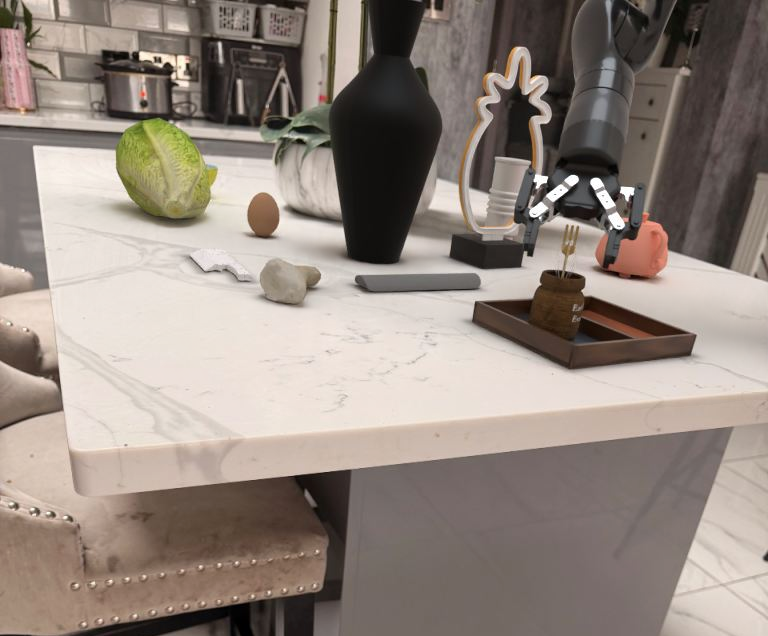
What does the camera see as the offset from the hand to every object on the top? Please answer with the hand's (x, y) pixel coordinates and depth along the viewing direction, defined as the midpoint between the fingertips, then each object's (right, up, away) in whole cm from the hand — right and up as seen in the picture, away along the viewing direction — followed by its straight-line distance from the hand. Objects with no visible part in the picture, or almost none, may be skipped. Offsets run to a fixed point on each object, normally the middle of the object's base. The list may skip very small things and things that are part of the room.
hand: (568, 258), depth 86 cm
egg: (-41, +18, +45) cm, 64 cm away
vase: (-23, +13, +38) cm, 46 cm away
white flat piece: (-44, +5, +21) cm, 49 cm away
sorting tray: (+3, -7, +8) cm, 11 cm away
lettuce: (-60, +25, +52) cm, 83 cm away
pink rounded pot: (+23, +13, +49) cm, 56 cm away
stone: (-32, -1, +12) cm, 34 cm away
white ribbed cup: (+2, +24, +63) cm, 68 cm away
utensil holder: (-1, -7, +6) cm, 9 cm away
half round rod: (-16, +3, +23) cm, 28 cm away
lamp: (-3, +14, +45) cm, 47 cm away
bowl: (-62, +38, +75) cm, 104 cm away
